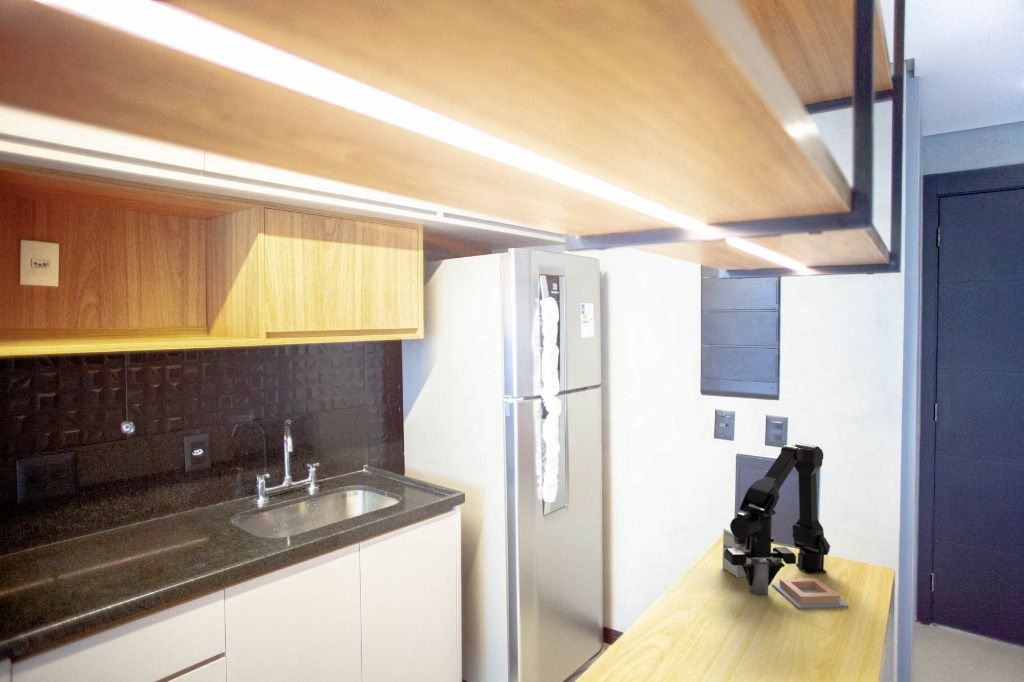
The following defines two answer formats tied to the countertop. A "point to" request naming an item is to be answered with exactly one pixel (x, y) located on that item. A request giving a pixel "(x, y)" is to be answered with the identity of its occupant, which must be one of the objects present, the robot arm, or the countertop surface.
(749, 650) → the countertop surface
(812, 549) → the robot arm
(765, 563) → the grey rounded tapered cylinder
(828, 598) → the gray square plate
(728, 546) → the supplement box
